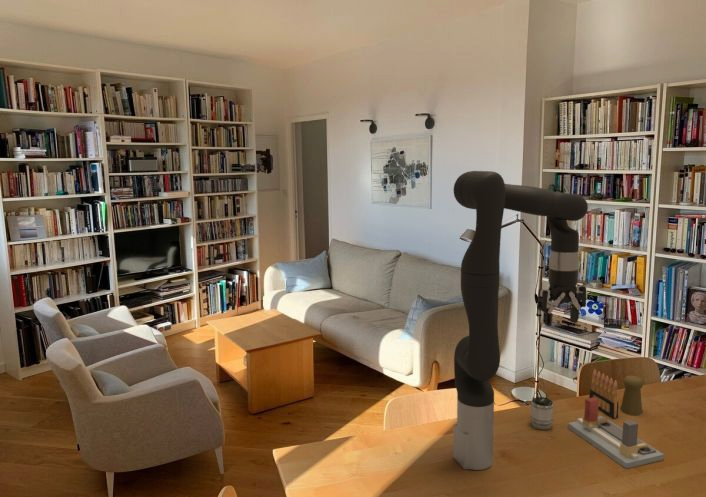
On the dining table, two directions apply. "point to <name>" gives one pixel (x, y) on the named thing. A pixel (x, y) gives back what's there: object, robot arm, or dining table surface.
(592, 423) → the red slider with pointer
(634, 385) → the olive pepper mill
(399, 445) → the dining table surface
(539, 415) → the camera lens
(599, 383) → the ammunition clip
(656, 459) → the grey slider track base
